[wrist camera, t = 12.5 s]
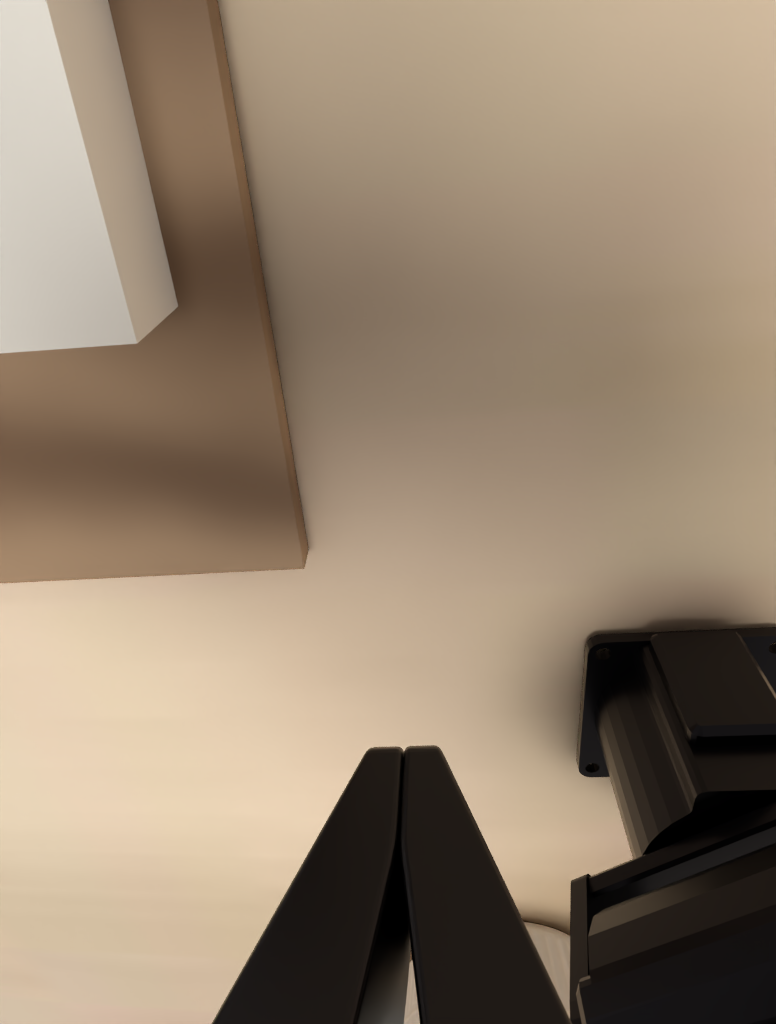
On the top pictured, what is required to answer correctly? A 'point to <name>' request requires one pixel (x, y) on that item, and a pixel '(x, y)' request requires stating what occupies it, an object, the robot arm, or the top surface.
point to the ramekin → (553, 956)
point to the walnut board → (162, 363)
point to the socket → (73, 186)
